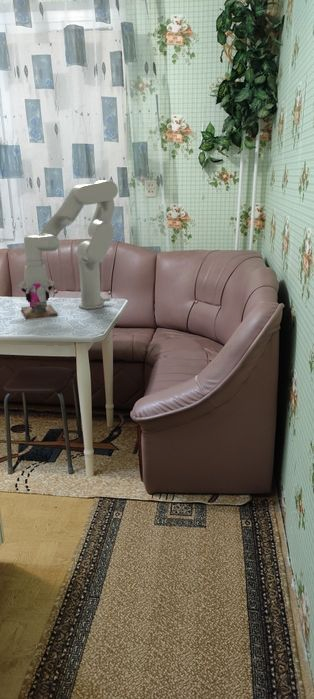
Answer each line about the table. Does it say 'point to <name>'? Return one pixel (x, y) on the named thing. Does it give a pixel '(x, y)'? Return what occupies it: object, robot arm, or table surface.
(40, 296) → the supplement box
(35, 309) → the hinge board
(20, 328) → the table surface
